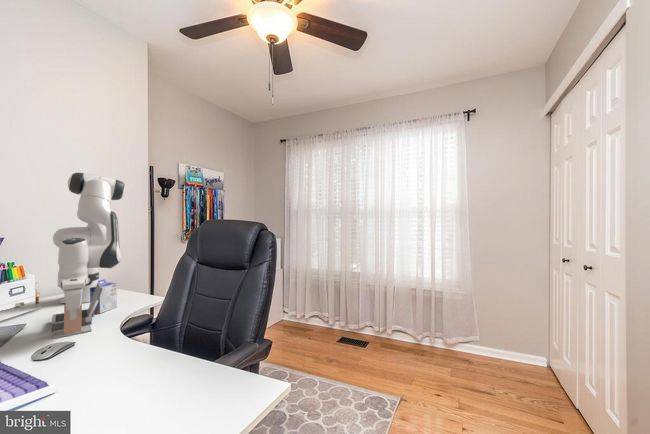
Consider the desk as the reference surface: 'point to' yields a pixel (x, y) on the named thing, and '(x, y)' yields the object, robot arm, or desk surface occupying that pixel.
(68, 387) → the desk surface
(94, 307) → the case
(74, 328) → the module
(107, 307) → the ink cartridge box
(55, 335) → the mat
